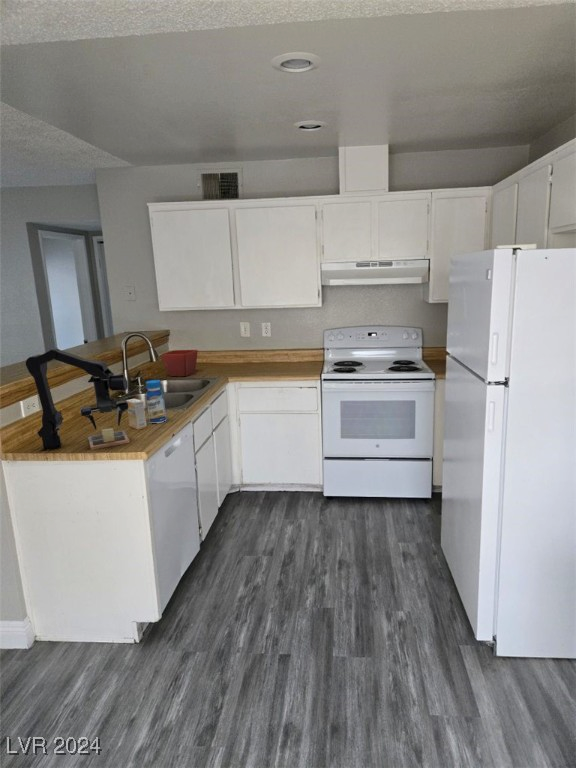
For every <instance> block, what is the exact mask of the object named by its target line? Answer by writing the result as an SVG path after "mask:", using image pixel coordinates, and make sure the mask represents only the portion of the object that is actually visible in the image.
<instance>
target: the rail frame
mask: <svg viewBox="0 0 576 768" xmlns="http://www.w3.org/2000/svg"><path fill="white" fill-rule="evenodd" d="M87 437H88V438H87V439H88V443H89V447H90V450H91V451H92V450H98V449H103V448H108V447H113V446H114V447H115V446H119V444H120V445H125V444H130V443H129V442H130V439H129V437H128V435H127V433H126V431H125V430H124V429H123V430H118V431H114V438H115V442H111V443H106V444H104V443H103V436H102V433H101V434H95V435H90V436H87ZM116 440H117V441H116ZM124 443H125V444H124ZM95 444H96V445H95Z"/></svg>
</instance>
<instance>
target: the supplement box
mask: <svg viewBox="0 0 576 768" xmlns="http://www.w3.org/2000/svg"><path fill="white" fill-rule="evenodd" d="M125 400H126V401H127V403H128V407H129V408H128V409H126V410H127V417H128V422H129V423H128V424H129V427H130V428H133V429H135V430H138V431H139V430H142V429H143V430H144V429H147V420H146V419H147V418H146V413H145V404H144V403H145V402H144V400H142V399H138V398H131V399H125Z"/></svg>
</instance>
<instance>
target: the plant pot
mask: <svg viewBox="0 0 576 768" xmlns="http://www.w3.org/2000/svg"><path fill="white" fill-rule="evenodd" d="M160 355H161V359H162V362H163V364H164V367H165V369H166V372H167V373H168V375H169V377H170V376H186V377H189V376H191V375H193V374H195V371H196V365H197V362H198V349H181V350H180V349H179V350H177V349H175V350H172V351H168V352H164V353H162V354H160ZM188 375H189V376H188Z"/></svg>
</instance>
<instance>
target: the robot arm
mask: <svg viewBox="0 0 576 768" xmlns="http://www.w3.org/2000/svg"><path fill="white" fill-rule="evenodd" d="M53 360H55V361H59V362H62V363H64V364H66V365H70V366H71V367H76V368H78V369H81V370H83V371H85V373H87V374H88V375H91V376H90V378H89V379H88V380H87V383H93V390H94V397H95V402H96V406H95V407H94V406H93V407H91V405H86V406H85V405H84V406H81V407H80V415H81V417H85V418H88V419H89V421H90V422H91V424H92V425H93V428H94V429H95V431H96V430H97V425H96V422H95V418H94V415H93V413H95V412H99V413H100V414H104V413H111V412H113V409H114V410H115V409H116V412H117V414H116V415H117V416H116V418H117V425H118V426H119V427H120V425H121V424H120V423H121V419H122V415H123V413H124V412H126V410H127V409H128V408H129V407H128V403H127V401H126V400H127V399H125V400H119V401H116V400H117V399H116V398H112V399H111V393H110V390H111V391H112V392H117V391H120V392H121V391H127V390H128V386H129V383H128V379H127V377H126V375H125V373H121V374H114V372H112V370H111V369H110V368H108V365H107V362H105V361H103V360H96V359H88V358H84V357H80V356H78V355H76V354H73V353H70V352H67V351H64V350H61V349H59V348H56V347H55V348H51V349H49V351H47V352H44V353H42V354H36V355H32V356H29V357H28V358H27V359H26V360H25V367H26V369H27V370H28V373H29V374H30V375H31V376H32V378H33V380H34V383H35V387H36V391H37V394H38V399H39V402H40V405H41V409H42V415H41V426H42V427H41V428H40V429H39V430H38V431H37V435H38V437H40V438H41V441H42V450H43V449H44V450H45V451H47V450H46V449H51V450H55V449H60V448H61V446H62V441H61V434H59V432H58V431H59V430H60V427H61V426H63V425H62V424H63V422H64V421H63V420H64V418H63V414H62V413H63V412H62V410H57V409H56V407H55V404H54V400H53V397H52V392H51V388H50V384H49V382H48V377H47V372H48V363H49V362H52V361H53Z"/></svg>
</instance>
